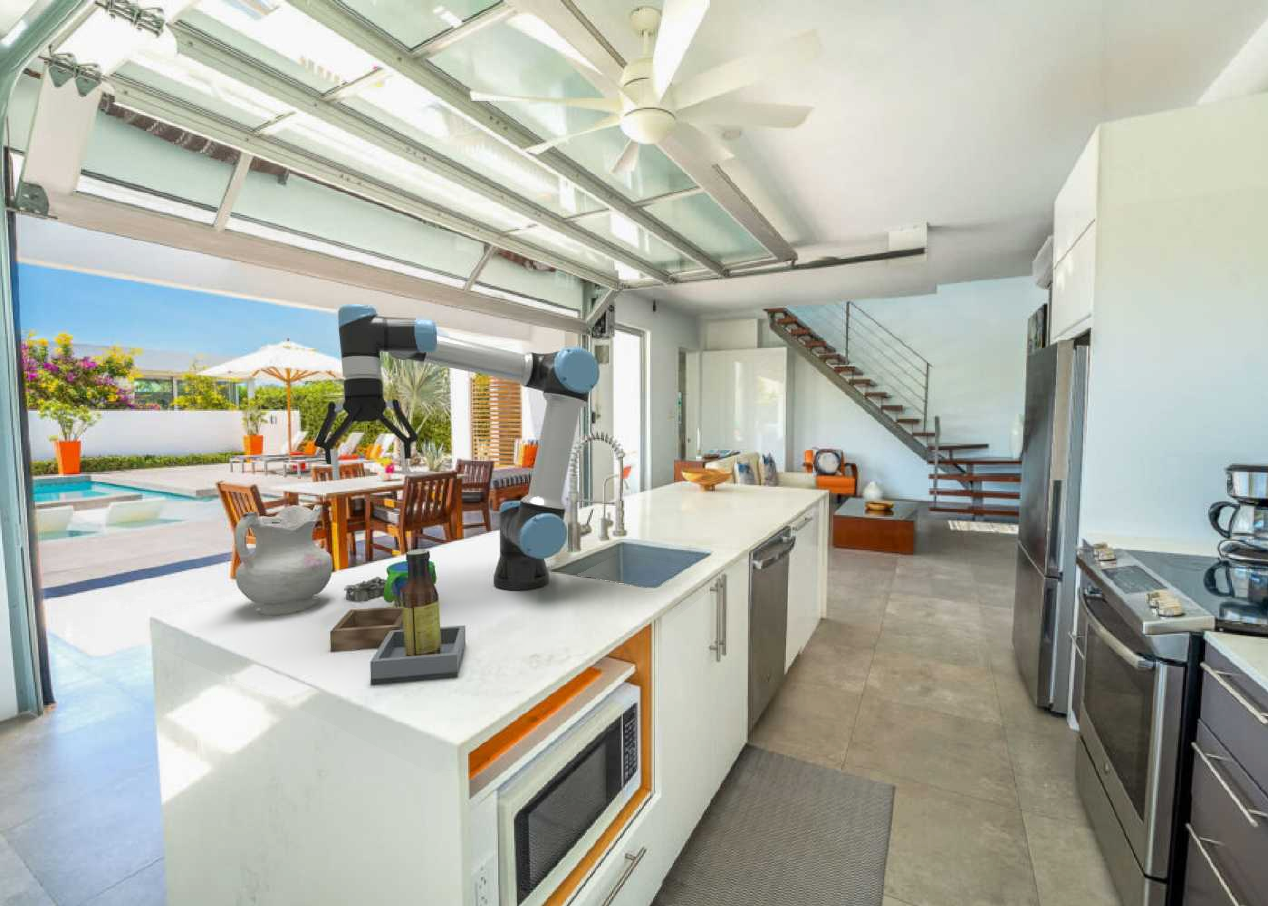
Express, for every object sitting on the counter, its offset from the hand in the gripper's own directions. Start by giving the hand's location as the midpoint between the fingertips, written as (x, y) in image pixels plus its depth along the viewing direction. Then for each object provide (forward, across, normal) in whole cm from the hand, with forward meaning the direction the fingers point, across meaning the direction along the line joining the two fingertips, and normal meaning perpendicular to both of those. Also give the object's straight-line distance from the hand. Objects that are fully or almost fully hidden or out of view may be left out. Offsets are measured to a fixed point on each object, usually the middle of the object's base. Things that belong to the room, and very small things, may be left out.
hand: (371, 477), depth 116 cm
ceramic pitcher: (+31, +25, -18) cm, 43 cm away
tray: (+34, -10, +22) cm, 42 cm away
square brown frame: (+33, +1, +6) cm, 33 cm away
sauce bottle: (+33, -10, +22) cm, 41 cm away
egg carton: (+32, +7, -23) cm, 40 cm away
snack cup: (+33, -4, -11) cm, 35 cm away
